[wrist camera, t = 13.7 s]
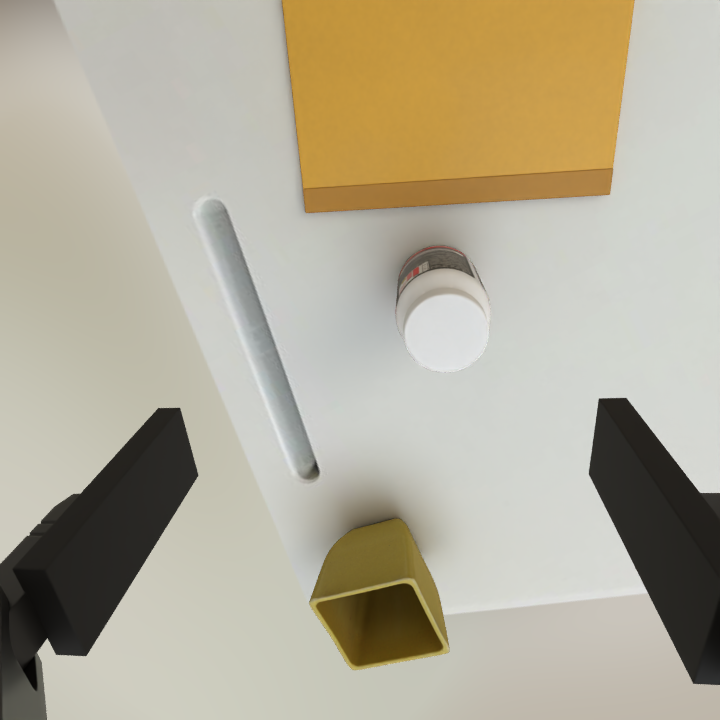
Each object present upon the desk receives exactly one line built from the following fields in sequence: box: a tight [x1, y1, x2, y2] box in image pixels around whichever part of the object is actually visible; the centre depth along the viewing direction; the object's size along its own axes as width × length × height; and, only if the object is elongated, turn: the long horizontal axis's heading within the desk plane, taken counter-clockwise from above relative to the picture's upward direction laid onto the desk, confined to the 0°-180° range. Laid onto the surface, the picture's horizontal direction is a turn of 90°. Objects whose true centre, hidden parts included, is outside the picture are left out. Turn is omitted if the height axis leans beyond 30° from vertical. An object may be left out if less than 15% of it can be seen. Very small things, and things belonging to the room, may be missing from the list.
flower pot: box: [309, 518, 450, 670], centre depth 43 cm, size 9×9×9 cm
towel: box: [282, 0, 634, 213], centre depth 30 cm, size 15×20×1 cm
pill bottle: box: [396, 246, 491, 373], centre depth 32 cm, size 6×6×10 cm
